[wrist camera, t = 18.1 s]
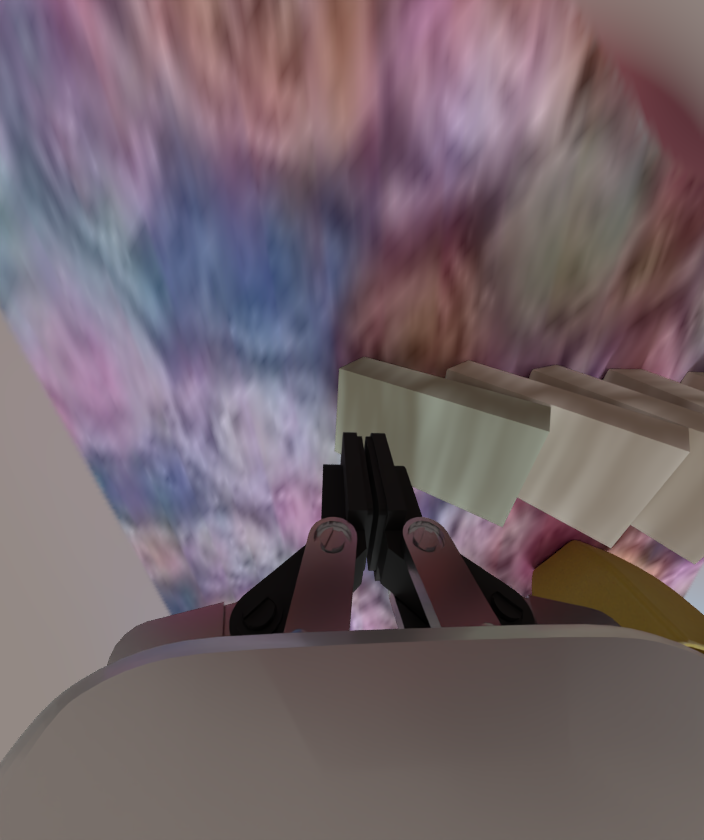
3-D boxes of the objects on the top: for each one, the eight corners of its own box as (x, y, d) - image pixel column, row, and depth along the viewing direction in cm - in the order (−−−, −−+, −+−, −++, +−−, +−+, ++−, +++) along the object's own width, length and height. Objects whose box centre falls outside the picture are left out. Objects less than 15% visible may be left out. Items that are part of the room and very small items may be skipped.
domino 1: (334, 451, 17) (502, 526, 13) (339, 368, 14) (549, 431, 10) (356, 433, 19) (509, 494, 15) (364, 356, 16) (550, 407, 12)
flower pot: (575, 516, 24) (690, 644, 16) (639, 543, 27) (765, 664, 19) (502, 575, 28) (567, 701, 20) (563, 593, 30) (643, 712, 23)
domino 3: (570, 439, 20) (746, 565, 12) (608, 368, 17) (864, 471, 9) (599, 438, 20) (787, 558, 12) (641, 369, 17) (911, 467, 10)
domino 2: (427, 448, 18) (610, 548, 12) (447, 369, 15) (690, 452, 10) (447, 434, 19) (618, 517, 14) (468, 360, 16) (688, 428, 11)
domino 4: (501, 445, 18) (694, 564, 12) (532, 369, 16) (800, 468, 9) (524, 436, 19) (712, 541, 13) (556, 364, 17) (811, 449, 10)
